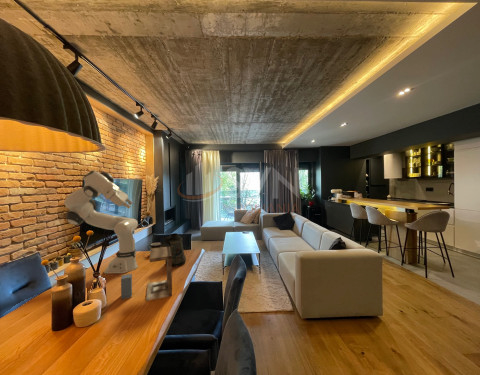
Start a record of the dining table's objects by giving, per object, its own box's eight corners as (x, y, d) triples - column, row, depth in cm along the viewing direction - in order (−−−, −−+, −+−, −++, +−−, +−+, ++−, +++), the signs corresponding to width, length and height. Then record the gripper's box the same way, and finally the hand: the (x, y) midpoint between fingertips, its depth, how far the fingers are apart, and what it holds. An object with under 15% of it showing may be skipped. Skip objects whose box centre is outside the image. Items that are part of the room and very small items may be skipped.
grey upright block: (121, 299, 117) (121, 278, 116) (122, 295, 121) (122, 275, 121) (131, 297, 119) (130, 277, 118) (132, 293, 123) (131, 273, 123)
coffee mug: (163, 253, 194) (162, 243, 194) (155, 256, 186) (155, 245, 186) (154, 251, 199) (154, 241, 199) (146, 254, 191) (146, 244, 191)
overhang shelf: (146, 300, 115) (145, 259, 114) (147, 284, 133) (147, 248, 133) (172, 295, 120) (171, 255, 120) (170, 280, 139) (169, 246, 138)
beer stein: (189, 260, 176) (189, 232, 176) (177, 269, 157) (176, 237, 157) (172, 258, 180) (172, 231, 180) (158, 267, 161) (158, 236, 161)
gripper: (111, 192, 133) (129, 205, 138) (104, 198, 114) (125, 213, 120) (118, 185, 134) (135, 198, 139) (112, 190, 115) (133, 205, 121)
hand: (130, 205), depth 129 cm, fingers open, 8 cm apart
